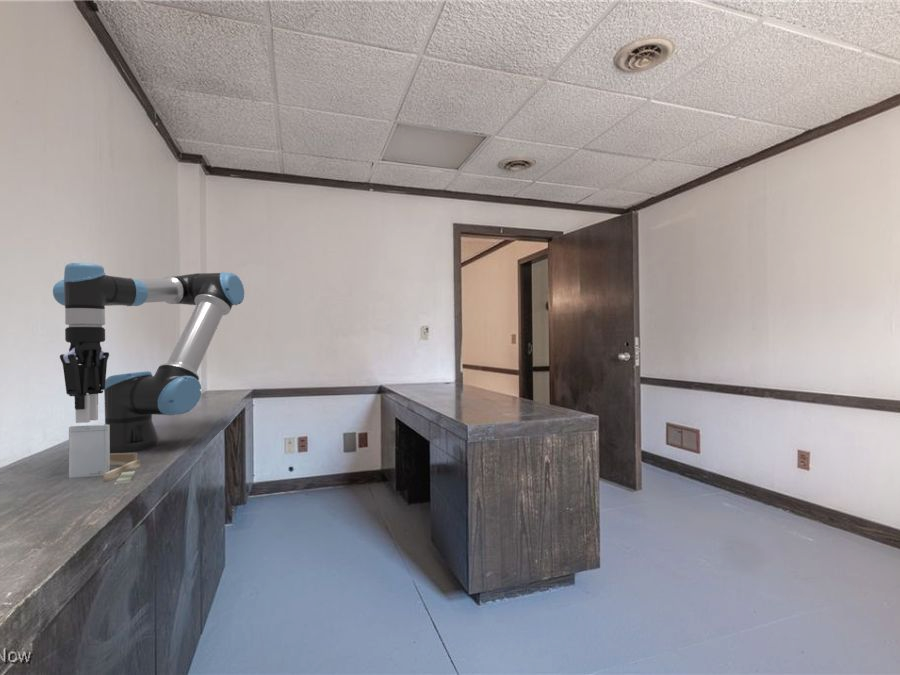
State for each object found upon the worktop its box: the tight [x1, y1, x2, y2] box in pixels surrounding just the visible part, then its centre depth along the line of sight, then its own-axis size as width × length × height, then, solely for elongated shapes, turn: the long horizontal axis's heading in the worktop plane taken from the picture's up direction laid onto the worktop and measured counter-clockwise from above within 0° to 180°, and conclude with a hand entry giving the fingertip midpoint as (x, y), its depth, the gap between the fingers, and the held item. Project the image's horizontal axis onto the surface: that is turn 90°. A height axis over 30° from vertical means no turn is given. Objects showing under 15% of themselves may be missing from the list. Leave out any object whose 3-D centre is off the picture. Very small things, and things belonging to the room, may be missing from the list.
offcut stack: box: [114, 470, 136, 485], centre depth 102 cm, size 8×3×1 cm, turn 25°
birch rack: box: [103, 452, 142, 483], centre depth 107 cm, size 16×13×3 cm
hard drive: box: [68, 424, 111, 479], centre depth 105 cm, size 2×8×12 cm, turn 103°
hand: (87, 421), depth 105 cm, fingers open, 2 cm apart
